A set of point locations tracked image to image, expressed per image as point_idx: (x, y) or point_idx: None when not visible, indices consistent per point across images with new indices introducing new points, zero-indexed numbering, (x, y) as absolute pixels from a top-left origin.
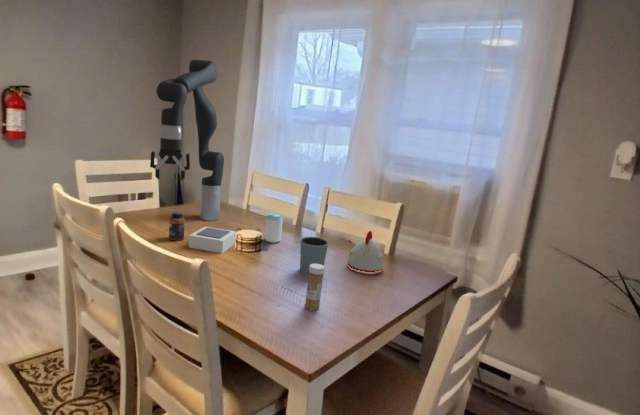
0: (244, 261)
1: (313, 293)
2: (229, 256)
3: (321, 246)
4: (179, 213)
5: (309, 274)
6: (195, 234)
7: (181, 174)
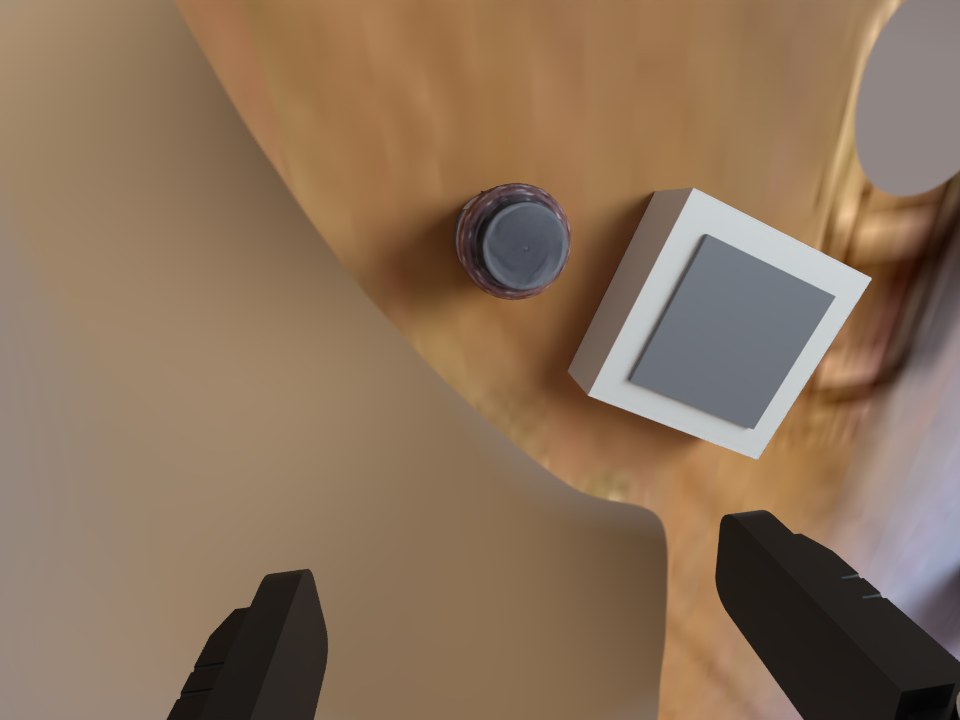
0: (790, 508)
1: None
2: (741, 462)
3: None
4: (544, 278)
5: None
6: (622, 375)
7: (806, 704)
